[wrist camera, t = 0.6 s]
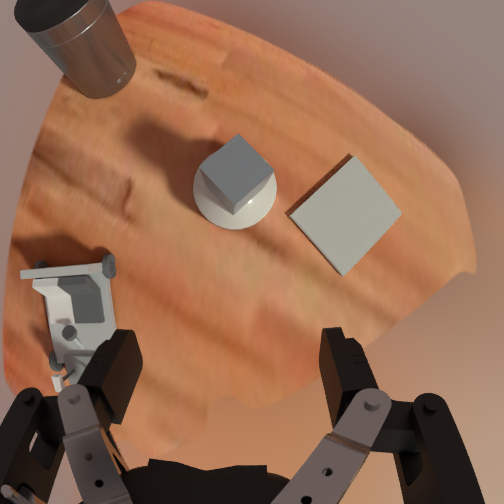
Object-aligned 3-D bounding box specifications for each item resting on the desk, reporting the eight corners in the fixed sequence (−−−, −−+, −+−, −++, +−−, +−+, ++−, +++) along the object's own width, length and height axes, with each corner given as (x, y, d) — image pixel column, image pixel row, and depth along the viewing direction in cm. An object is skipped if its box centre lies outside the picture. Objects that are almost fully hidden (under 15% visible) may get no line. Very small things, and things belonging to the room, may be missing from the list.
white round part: (181, 191, 36) (176, 185, 32) (236, 143, 37) (237, 131, 33) (231, 246, 37) (232, 246, 33) (286, 195, 37) (293, 190, 33)
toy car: (113, 422, 27) (32, 411, 26) (136, 386, 37) (65, 383, 36) (81, 255, 27) (1, 263, 26) (115, 253, 36) (43, 260, 36)
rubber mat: (289, 216, 37) (289, 215, 37) (353, 156, 38) (354, 155, 37) (341, 275, 38) (343, 276, 37) (400, 213, 39) (402, 213, 38)
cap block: (205, 185, 33) (198, 166, 25) (236, 159, 33) (238, 133, 25) (233, 215, 33) (234, 205, 25) (263, 188, 33) (274, 170, 25)
